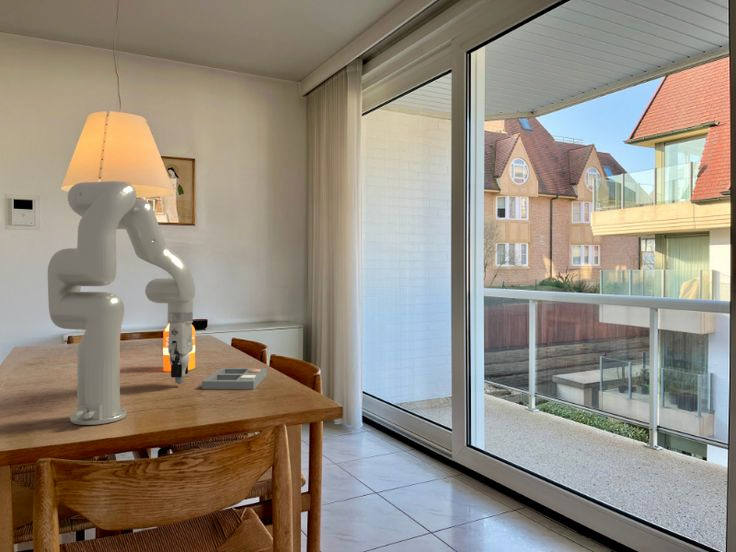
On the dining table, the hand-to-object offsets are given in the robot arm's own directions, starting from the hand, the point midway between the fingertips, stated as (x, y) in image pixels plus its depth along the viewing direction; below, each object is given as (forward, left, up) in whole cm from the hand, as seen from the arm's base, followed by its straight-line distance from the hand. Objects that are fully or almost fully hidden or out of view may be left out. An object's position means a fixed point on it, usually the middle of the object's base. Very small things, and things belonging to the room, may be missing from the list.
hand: (179, 374), depth 169 cm
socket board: (+8, -16, -4) cm, 18 cm away
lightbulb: (0, 0, -3) cm, 3 cm away
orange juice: (+29, +10, -4) cm, 31 cm away
